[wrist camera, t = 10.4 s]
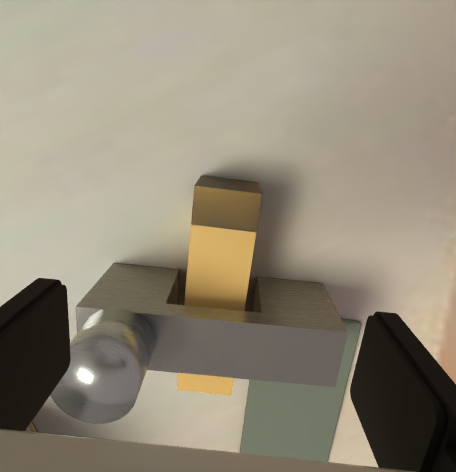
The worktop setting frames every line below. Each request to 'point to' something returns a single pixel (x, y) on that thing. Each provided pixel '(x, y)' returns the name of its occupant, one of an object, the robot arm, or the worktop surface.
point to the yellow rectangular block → (220, 257)
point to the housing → (193, 339)
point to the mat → (296, 413)
